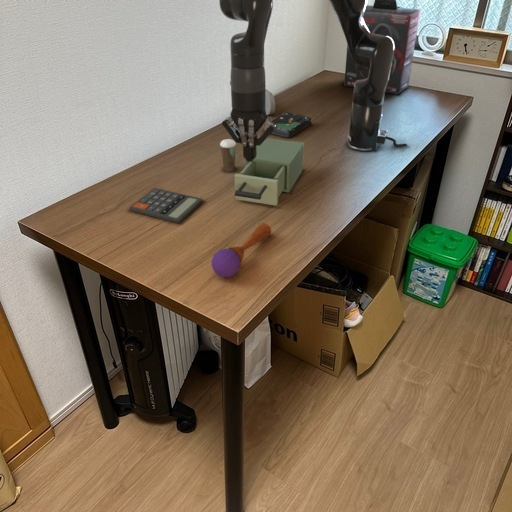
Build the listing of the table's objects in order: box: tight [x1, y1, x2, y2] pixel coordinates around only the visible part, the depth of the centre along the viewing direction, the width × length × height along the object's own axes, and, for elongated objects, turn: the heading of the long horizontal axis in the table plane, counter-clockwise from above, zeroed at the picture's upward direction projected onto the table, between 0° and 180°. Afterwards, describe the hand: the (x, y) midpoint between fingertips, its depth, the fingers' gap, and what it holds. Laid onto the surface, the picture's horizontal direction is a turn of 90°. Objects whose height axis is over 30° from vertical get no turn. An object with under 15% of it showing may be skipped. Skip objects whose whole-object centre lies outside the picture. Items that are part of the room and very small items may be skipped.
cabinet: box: [244, 137, 305, 193], centre depth 138 cm, size 14×13×9 cm
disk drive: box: [263, 111, 312, 138], centre depth 169 cm, size 10×3×15 cm
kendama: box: [211, 222, 272, 278], centre depth 108 cm, size 6×6×20 cm
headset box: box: [343, 0, 421, 95], centre depth 196 cm, size 25×12×33 cm, turn 57°
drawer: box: [233, 161, 287, 207], centre depth 128 cm, size 19×11×7 cm, turn 161°
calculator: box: [129, 187, 203, 224], centre depth 128 cm, size 12×1×15 cm
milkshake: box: [219, 138, 237, 173], centre depth 142 cm, size 5×5×10 cm
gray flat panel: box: [265, 89, 276, 116], centre depth 183 cm, size 20×2×8 cm, turn 26°
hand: (249, 159), depth 116 cm, fingers closed
